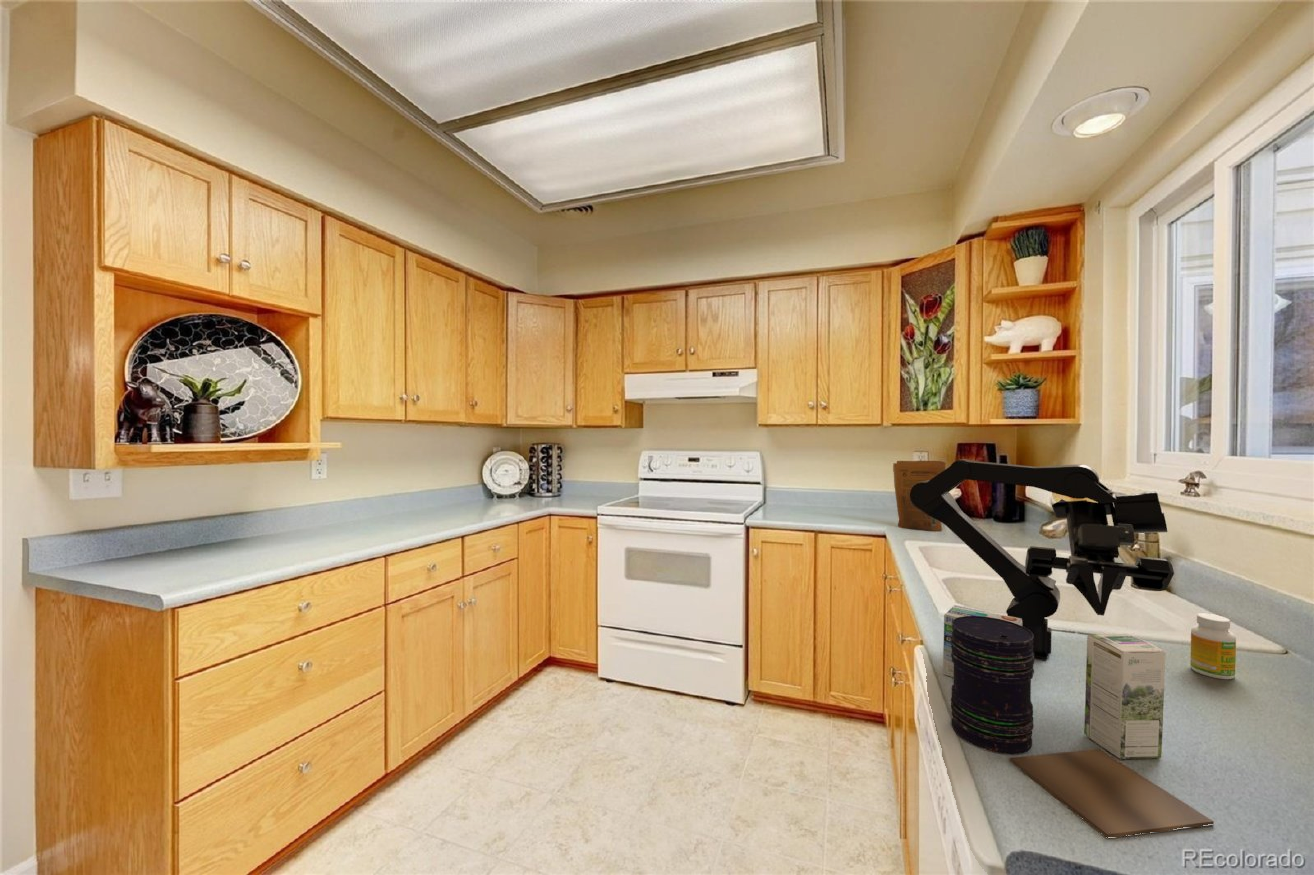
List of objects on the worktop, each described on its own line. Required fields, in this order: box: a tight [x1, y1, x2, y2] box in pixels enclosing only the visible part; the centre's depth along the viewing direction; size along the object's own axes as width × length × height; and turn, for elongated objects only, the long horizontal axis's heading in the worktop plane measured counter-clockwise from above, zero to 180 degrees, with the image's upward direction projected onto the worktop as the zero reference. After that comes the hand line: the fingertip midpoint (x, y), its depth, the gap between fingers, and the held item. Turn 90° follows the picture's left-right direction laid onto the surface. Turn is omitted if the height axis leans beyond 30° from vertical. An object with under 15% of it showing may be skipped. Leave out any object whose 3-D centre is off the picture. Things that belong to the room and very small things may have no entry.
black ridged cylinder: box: [950, 616, 1035, 756], centre depth 75 cm, size 10×10×15 cm
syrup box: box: [1083, 633, 1166, 760], centre depth 72 cm, size 6×6×14 cm
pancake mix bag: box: [892, 460, 947, 532], centre depth 216 cm, size 7×19×28 cm, turn 55°
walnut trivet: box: [1009, 748, 1214, 839], centre depth 63 cm, size 13×13×1 cm
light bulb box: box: [942, 604, 1022, 678], centre depth 91 cm, size 11×7×11 cm, turn 47°
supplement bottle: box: [1189, 612, 1237, 680], centre depth 93 cm, size 5×5×10 cm
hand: (1101, 614), depth 85 cm, fingers closed
